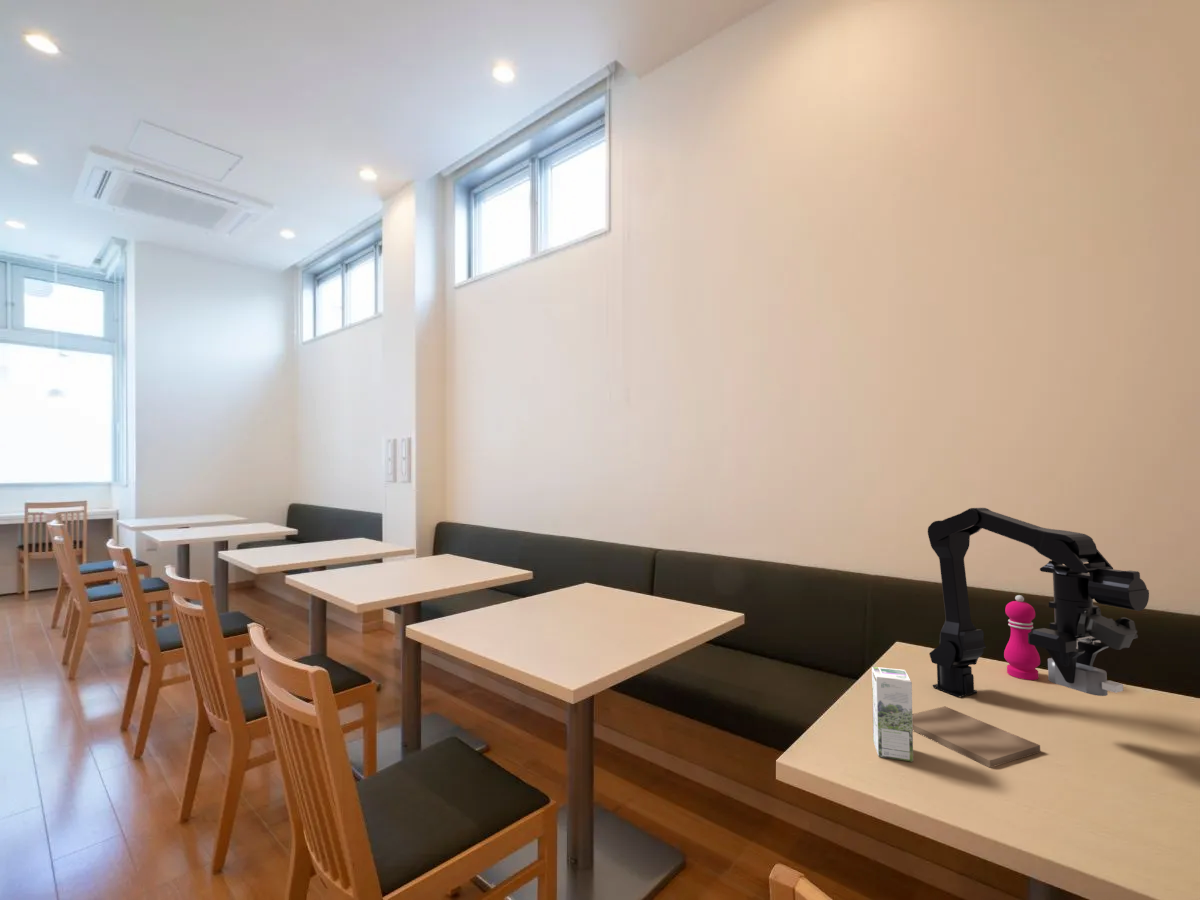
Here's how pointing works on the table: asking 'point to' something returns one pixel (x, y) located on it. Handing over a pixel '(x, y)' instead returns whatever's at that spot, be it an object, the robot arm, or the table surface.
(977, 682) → the table surface
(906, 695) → the syrup box
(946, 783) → the table surface
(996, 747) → the walnut board
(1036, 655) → the pepper mill
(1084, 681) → the charcoal usb stick
